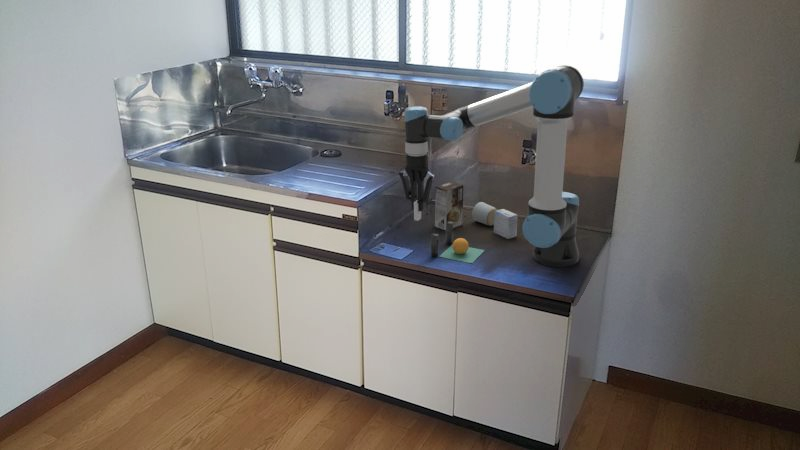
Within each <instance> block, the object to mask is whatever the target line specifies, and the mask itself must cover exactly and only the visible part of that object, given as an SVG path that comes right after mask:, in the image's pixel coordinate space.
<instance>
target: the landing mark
mask: <svg viewBox="0 0 800 450" xmlns="http://www.w3.org/2000/svg"><path fill="white" fill-rule="evenodd" d="M485 251H486V250H485V249H481V248H475V247H471V246H470V247H468V250H467V252H465V253H464V254H457V253H456V252H455V251H454V250H453V244H452V245H449V247H448V248H447V249H445V250H444V251H443V252H442V253H441V254H440V255H438V258H441V257H442V258H441V259H445V260H452V261H456V260H457V262H461V261H462V262H461V263H466V262H467V263H466V264H471V263H472V264H473V263H475V261H476V260H478V258H479V257H480V256H482V254H483V253H484V252H485Z"/></svg>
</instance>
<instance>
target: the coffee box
mask: <svg viewBox="0 0 800 450" xmlns="http://www.w3.org/2000/svg"><path fill="white" fill-rule="evenodd" d="M434 191H435V192H434V193H435V198H434V199H435V200H434V202H435V203H434V206H435V207H434V227H436V228H437V229H441V230H443V231H446V222H447V221H452V222H453V229H454V228H457V227H461V226H462V225H463V222H464V221H463V220H464V219H463V218H464V215H463V213H464V212H463V211H464V184H461V183H459V182H456V181H453V180H451V181H448V182H445V183H442V184H438V185H436V186H435V190H434Z"/></svg>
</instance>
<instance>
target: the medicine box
mask: <svg viewBox="0 0 800 450" xmlns="http://www.w3.org/2000/svg"><path fill="white" fill-rule="evenodd" d="M518 216H519V215H518V214H517V213H515V212H512V211H510V210H507V209H505V208H502V209H497V211H495V215H494V225H493V233H494V234H496V235H498V236H501V237H502V238H505V239H507V240H509V239H513V238H516V237H517V236H518V235H517V234H518V233H517V232H518V230H517V229H518Z"/></svg>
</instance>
